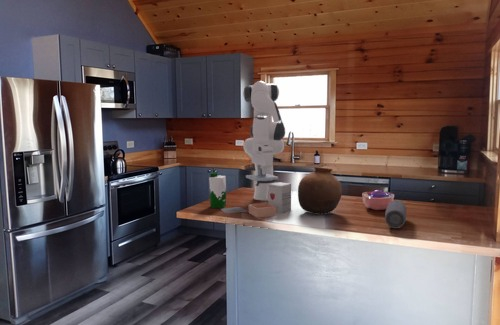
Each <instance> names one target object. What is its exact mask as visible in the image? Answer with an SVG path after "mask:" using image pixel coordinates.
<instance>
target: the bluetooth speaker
mask: <svg viewBox="0 0 500 325" xmlns="http://www.w3.org/2000/svg"><path fill="white" fill-rule="evenodd" d="M384 213H385V215H384V218H385V222H386V224H387V225H388V226H389V227H390V228H393V229H399V228H402V227H403V226H404V224H406V221H407V214H408V213H407V207H406V205H405V203H404V202H403V201H401V200H399V199H395V200H394V199H393V201H392V202H390V203H389V204H388V206H387V209H385V212H384Z"/></svg>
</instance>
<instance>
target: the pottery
mask: <svg viewBox="0 0 500 325" xmlns="http://www.w3.org/2000/svg"><path fill="white" fill-rule="evenodd" d="M313 168H314V171H312V172H310V173H308V174H307V175H305V176H303V177H302V178H301V180H300V182H299V184H298V188H297V197H298V198H297V200H298V204H299V206H300V207H301V209H302V210H303V211H305V212H307V213H309V214H315V215H327V214H329V213H331V212H333V211H334V210H335V209H336V208H337V207H338V205H339V203H340V200H341V198H342V194H343V187H342V184H341V182H340V180H339V179H338V178H337V177H336V176H334V174H332V172H333V170H334V169H332V168H327V167H326V168H325V167H317V166H314V167H313Z"/></svg>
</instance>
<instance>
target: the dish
mask: <svg viewBox="0 0 500 325" xmlns="http://www.w3.org/2000/svg"><path fill="white" fill-rule="evenodd" d="M248 213H249V214H250V215H251V216H253V217H255V218H256V219H260V218H263V217H264V218H268V217H272V216H273V217H277V211H276V206H274V205H271V204H269V202H260V203H250V204H248Z"/></svg>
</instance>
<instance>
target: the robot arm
mask: <svg viewBox="0 0 500 325" xmlns="http://www.w3.org/2000/svg"><path fill="white" fill-rule="evenodd" d="M242 96H243V99H244V101H245V102H246V103H251V106H252V108H253V119H252V120H253V121H252V125H251V126H249V127H250V128H249V129H250V137H249V138H246V139H245V140H244V142H243V151H244V152H245V154H246V155H248V156H249V157H250V158H251V164H254V170H255V175H258V168H262V171H261V174H271V175H274V165H273V164H274V155H278V154H281V153H283V151H284V149H285V142H284V140H283V139H284V138H285V136H286V127H285V124H284V122H283V120H282V117H281V113H280V110H279V107H278V104H277V103H276V101H277V100H278V98H279V96H280V90H279V87H278V85H277V84H275V83H267V82H264V81H262V80H258V81H256V82H254V84H252V85H246V86H244V88H243V92H242ZM272 120H273V121H272ZM276 181H279V178H278V179H275V180H262V181H254V194H253V198H252V199H254V200H256V201H265V202H266V201H267V202H269V184H272V183H277V182H276Z"/></svg>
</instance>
